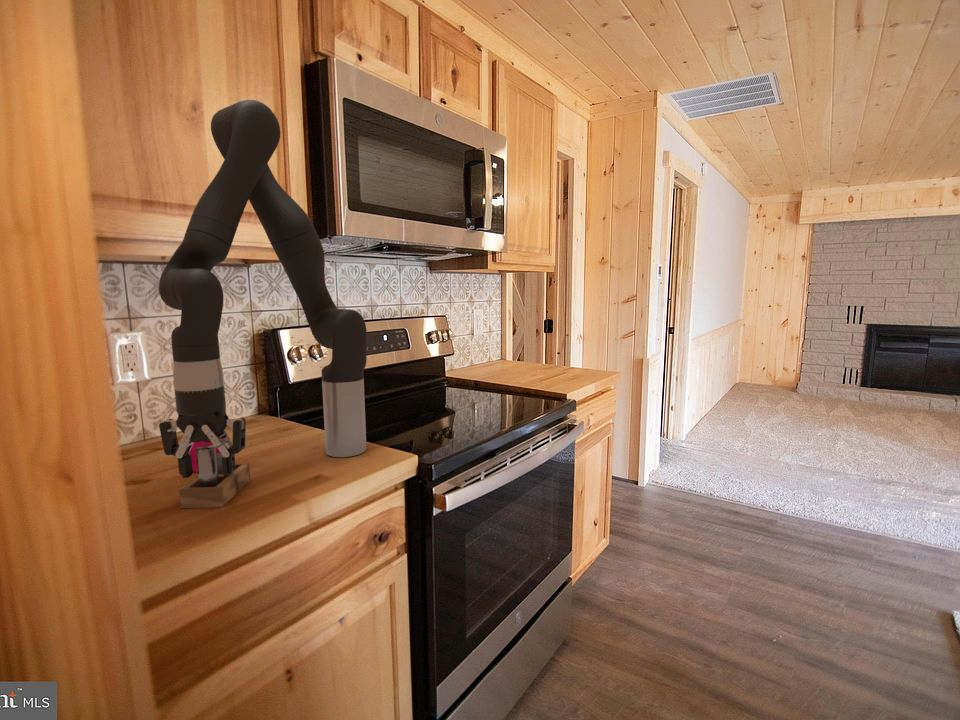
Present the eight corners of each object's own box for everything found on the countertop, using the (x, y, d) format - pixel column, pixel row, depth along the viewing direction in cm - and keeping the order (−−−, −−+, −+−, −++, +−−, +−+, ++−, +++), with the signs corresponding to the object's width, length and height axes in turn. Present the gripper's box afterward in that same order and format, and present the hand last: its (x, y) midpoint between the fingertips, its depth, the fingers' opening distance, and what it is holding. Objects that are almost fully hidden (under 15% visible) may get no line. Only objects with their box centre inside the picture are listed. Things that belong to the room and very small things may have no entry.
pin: (206, 497, 88) (201, 444, 87) (222, 496, 88) (218, 444, 87) (197, 504, 85) (192, 450, 84) (215, 503, 85) (210, 449, 84)
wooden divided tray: (214, 480, 95) (211, 449, 94) (250, 479, 96) (248, 448, 95) (181, 508, 84) (177, 472, 83) (222, 507, 84) (219, 471, 83)
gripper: (250, 380, 88) (257, 467, 90) (169, 381, 87) (178, 469, 89) (232, 388, 80) (240, 483, 83) (143, 390, 79) (153, 485, 82)
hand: (208, 475), depth 86 cm, fingers open, 6 cm apart
